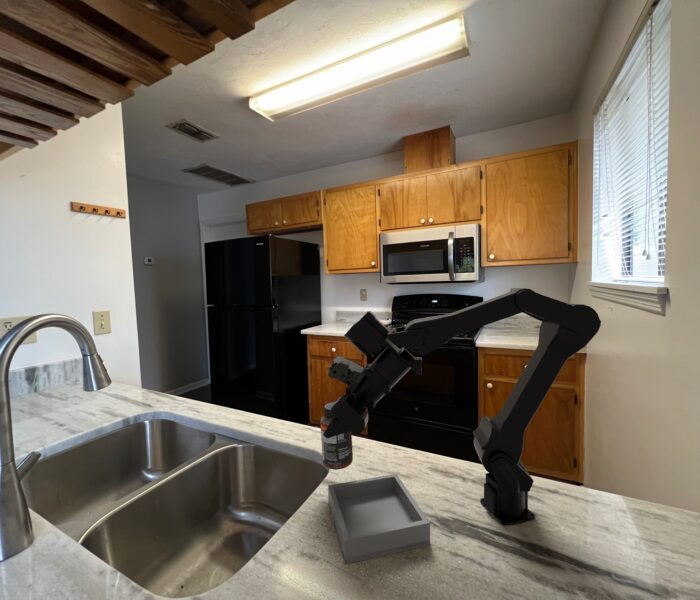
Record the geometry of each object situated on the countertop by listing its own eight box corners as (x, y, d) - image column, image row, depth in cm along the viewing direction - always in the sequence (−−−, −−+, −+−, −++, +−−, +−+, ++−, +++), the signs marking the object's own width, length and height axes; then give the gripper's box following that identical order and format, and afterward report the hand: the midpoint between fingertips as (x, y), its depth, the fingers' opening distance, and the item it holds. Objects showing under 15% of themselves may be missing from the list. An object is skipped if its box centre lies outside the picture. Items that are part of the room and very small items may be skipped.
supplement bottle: (336, 451, 66) (334, 397, 66) (359, 460, 62) (356, 403, 62) (316, 464, 62) (313, 406, 61) (338, 475, 58) (335, 413, 57)
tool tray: (396, 491, 62) (396, 473, 62) (430, 544, 49) (430, 522, 49) (328, 503, 59) (328, 485, 59) (344, 564, 46) (344, 540, 46)
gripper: (360, 336, 70) (315, 385, 72) (340, 353, 51) (280, 418, 54) (398, 372, 68) (350, 420, 71) (391, 402, 50) (327, 467, 52)
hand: (329, 428), depth 62 cm, fingers closed on supplement bottle, 6 cm apart
